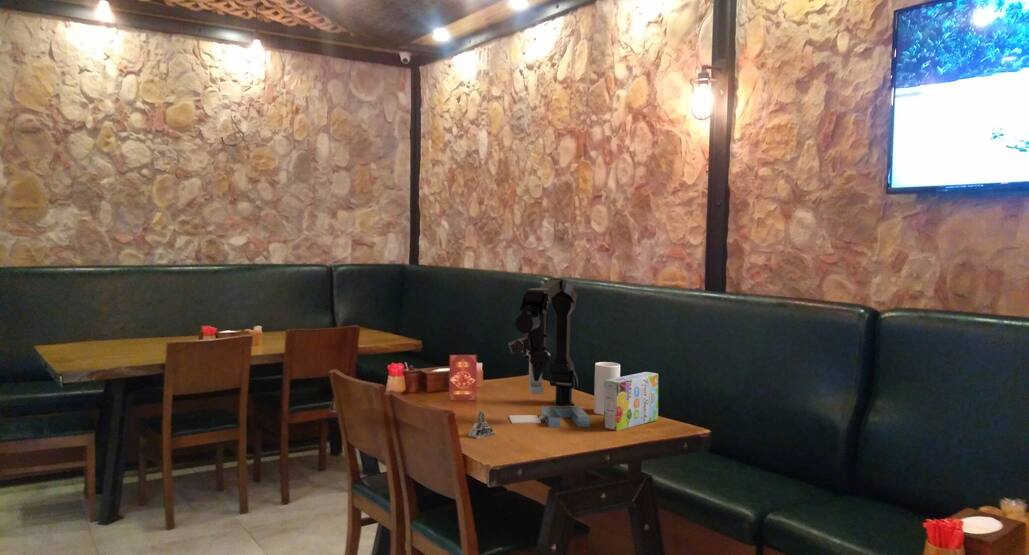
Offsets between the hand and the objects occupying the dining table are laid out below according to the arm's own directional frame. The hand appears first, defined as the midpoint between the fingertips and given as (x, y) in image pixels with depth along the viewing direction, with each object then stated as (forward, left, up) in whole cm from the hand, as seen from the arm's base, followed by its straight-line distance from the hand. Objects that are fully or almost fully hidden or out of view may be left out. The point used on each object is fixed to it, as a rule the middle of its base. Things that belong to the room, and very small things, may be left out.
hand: (535, 379), depth 247 cm
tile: (-1, -3, -13) cm, 13 cm away
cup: (-11, +26, -13) cm, 31 cm away
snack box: (+5, +30, -13) cm, 33 cm away
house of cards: (+15, -19, -14) cm, 27 cm away
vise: (+2, +10, -13) cm, 16 cm away
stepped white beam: (0, 0, -4) cm, 4 cm away
